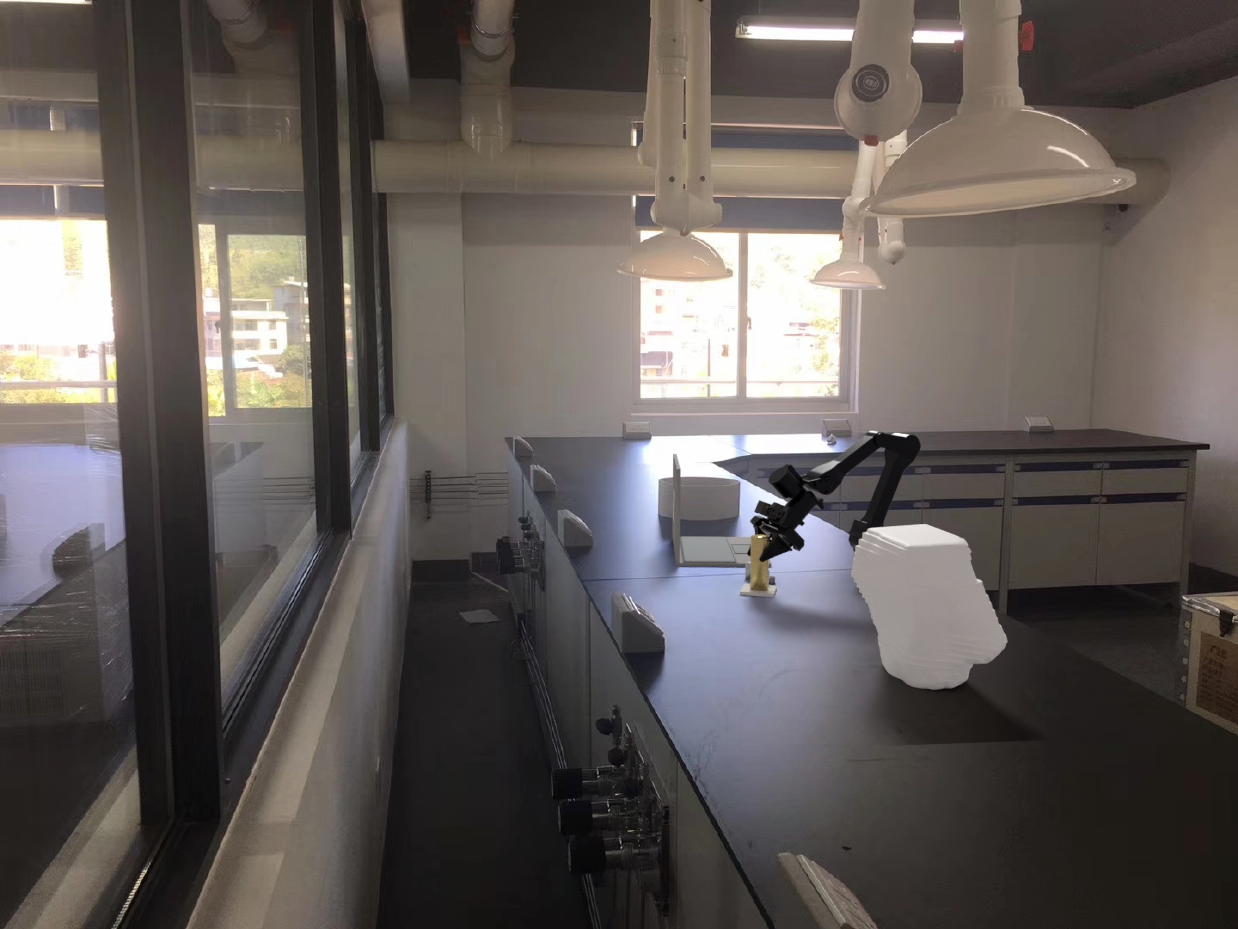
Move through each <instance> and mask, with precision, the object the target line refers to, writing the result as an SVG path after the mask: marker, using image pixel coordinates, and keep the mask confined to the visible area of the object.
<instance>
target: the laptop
mask: <svg viewBox="0 0 1238 929" xmlns="http://www.w3.org/2000/svg"><path fill="white" fill-rule="evenodd" d="M681 471H682V469H681V466H680V462H679V459H678V454H677V453H673V455H672V545H673V551H674V560H675V566H676V567H689V568H690V567H701V568H702V567H705V568H707V567H708V568H709V567H710V568H711V567H713V568H714V567H715V568H716V567H718V568H720V567H721V568H724V567H725V568H730V567H731V568H746V562H750V561H751V556H748V555H747V552H748V550H749V548H750V545H751V536H709V535H708V536H707V535H705V536H702V535H701V536H699V535H698V536H697V535H695V536H689V535H687V536H686V535H685V536H684V535H683V536H681V479H682V478H681V475H682V474H681ZM772 566H773V565H772V562H771V559H769V568H772Z"/></svg>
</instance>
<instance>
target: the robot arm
mask: <svg viewBox="0 0 1238 929" xmlns="http://www.w3.org/2000/svg"><path fill="white" fill-rule="evenodd" d="M921 448H922V443H921V442H920V438H918V436H917V435H915V434H911V433H904V432H893V433H892V434H889V433H885V432H883V431H879V430H878V431H877V430H869V431H868V432H867V431H866V433H865V434H864V436H862V437H861V438H860V439H859V440H857V441H856V442H855V443H853V444H852V445H851V446H850V447H848V448H847V449H846V450H845V451H843V452H842V453H840V454H839V455H838V456H837V457H835V458H834V459H833V460H831V461H829V462H826V463H823V464H820V465H818V466H816V467H814V468H812V469H809V471H808V472H807V473H805V474H801V475H800V474H799V473H798V472H797V470H796V469H795V467H794V466H793V465H792V464H790V463H785V464H784V465H783V466H782V467H778V468H777V469H776V470H774V471H772V473H771V474H770V476H769V477H768V483H769V484H770V485H771V486H772V488H774V490H775V491H776V492H777V493H778V494H779V495H780V496H781V497H782V498H783V499H789V500H788V501H787V502H786V503H785V504H781V503H779V502H775V501H773V502H772V503H768V502H765V501H763V500H758V502H757V504H756V507H755V508H754V511H753V512H754V513H756V514H759V515H754V516H753V517H752V518H751V519H750V520H749V522H750V523H751V525H752V528H754V535H767V536H769V545H768V546H767V548H766V549H765V551H764V552H763V553H762V555H761V557H760V558H759V560H760V561H761V562H764V561H767V560H771V559H773V558H776V557H778V556H781V555H782V554H786V553H788V552H792V551H793V550H795V551H798V552H800V551H801V550H803V548H804V547H805V542H806V541H805V539H804V538H803V537H802V536H801V535H800V534H799V533H798V531H796V529H797V528H798V527H799V526H801V527H803V526H804V525H805V524H806V522H804V520H805V519H806V518H807V516H808V515H809V514H810V513H811V512H812V510H814V508H816V509H819V510H821V511H823V510H824V509H825V505H824V498H822V497H819V496H817V495H815V493H816V494H820V495H825V496H828V495H831V494H833V493H834V492H835V491H836V490H837V488H839V487H840V485H841V484H842V482H843V480H844V478H845V476H847V474H848V473H850V472H851V471H852V470H853V469H855V468H856V467H858V465H860V464H861V463H862V462H864V461H865V460H866V459H868V458H869V457H870V456H872V455H873V454H874V453H875V452H876V451H877V450H879V449H884V452H883V453H884V454H883V456H884V462H885V463H884V466H883V469H882V472H881V474H880V475H879V476H880V477H879V479H878V482H877V484H876V486H875V489H874V491H873V493H872V497H871V499H870V502H869V504H868V507H867V509H866V512H865V514H864V516H862V518H861V519H856V518H855V519H854V520H853V522H852V525H851V528H850V529H849V531H848V533H847V534H848V542H849V545H850V547H851V548H852V550H853V553H854V552H855V546H857V545H859V539H862V533H864V532H866V531H867V530H868V529H869V528H876V527H885V520H886V517H887V515H888V512H889V509H890V507H891V505H892V502H893V499H894V498H895V494H896V492H897V490H898V488H899V484H900V482H901V480H902V477H903V474H904V472H905V470H906V469H907V468H908V467H909V466H911V465H912V464H913V463H915V462H914V461H915V460H916V459H917V456H918V454H919V453H920V451H921ZM807 489H808V490H807ZM747 555H748V556H751V545H750V548H749V550H748V552H747Z"/></svg>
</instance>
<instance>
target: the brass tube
mask: <svg viewBox="0 0 1238 929" xmlns="http://www.w3.org/2000/svg"><path fill="white" fill-rule="evenodd" d="M750 537H751V561H750V579H749V584H750V589H751V590H755V591H766V590H768V572H769V573H770V569H769V568H770V567H769V560H770V559H769V560H767V561H764V562H761V561H760V560H759V558H760V557H761V555H762V553H763V552H764V551H765V549H766V548H767V546H768V545H769V536H767V535H755V534H752V535H750Z"/></svg>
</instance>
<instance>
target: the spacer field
mask: <svg viewBox="0 0 1238 929" xmlns="http://www.w3.org/2000/svg"><path fill="white" fill-rule="evenodd" d="M744 576H745V579H747V580H750V562H746V567H745V575H744ZM775 584H776V576H774V575H770V571H769V572H768V585H775Z"/></svg>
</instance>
